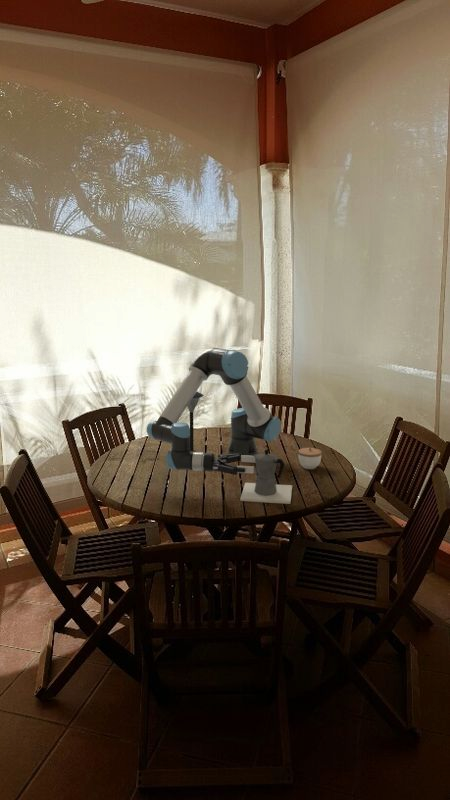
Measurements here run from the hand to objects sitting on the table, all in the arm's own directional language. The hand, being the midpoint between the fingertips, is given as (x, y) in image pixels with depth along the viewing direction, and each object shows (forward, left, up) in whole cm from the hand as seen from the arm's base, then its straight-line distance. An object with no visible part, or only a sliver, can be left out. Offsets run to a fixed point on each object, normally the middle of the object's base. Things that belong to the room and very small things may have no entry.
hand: (255, 464), depth 254 cm
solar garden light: (-53, -37, -13) cm, 66 cm away
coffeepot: (0, +5, -12) cm, 13 cm away
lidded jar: (-37, +22, -13) cm, 45 cm away
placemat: (0, +5, -13) cm, 14 cm away
